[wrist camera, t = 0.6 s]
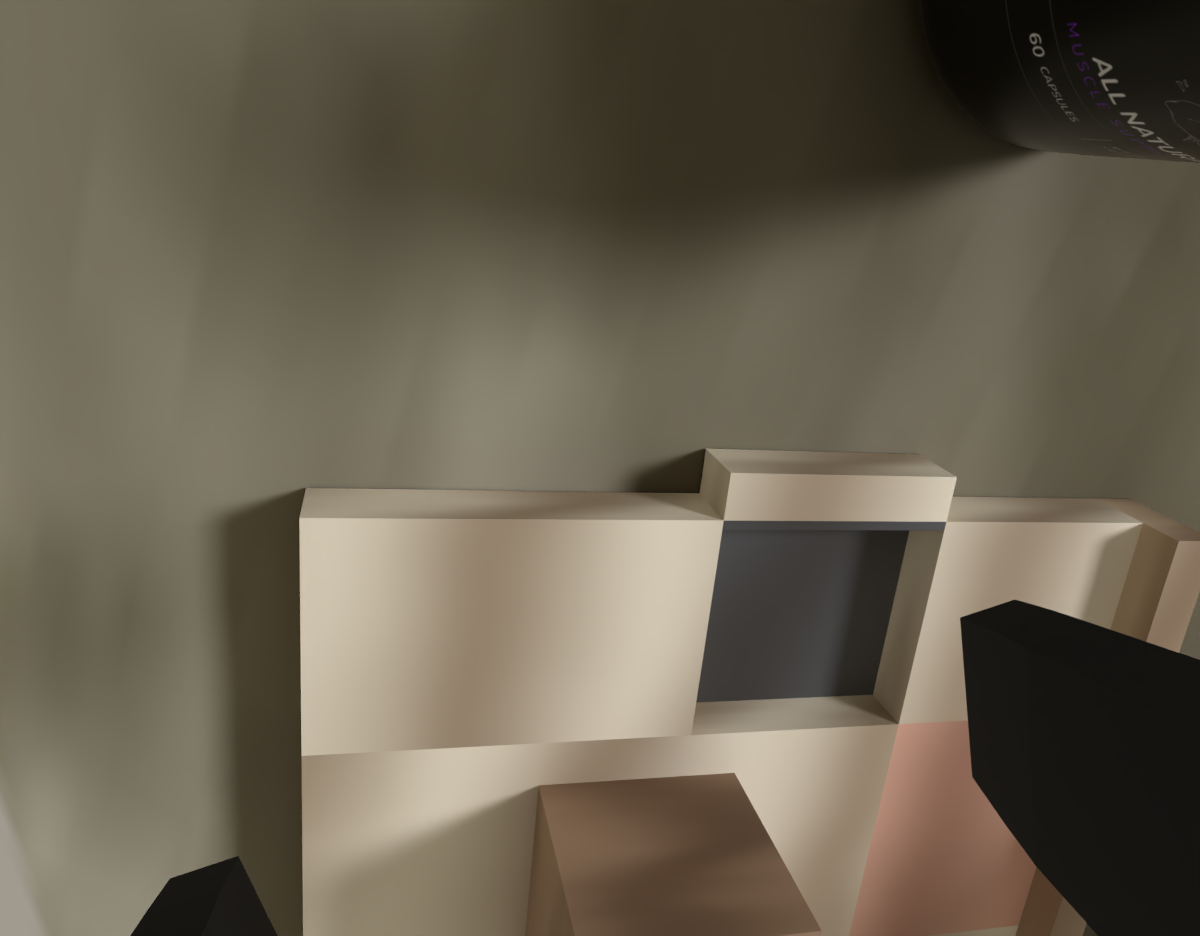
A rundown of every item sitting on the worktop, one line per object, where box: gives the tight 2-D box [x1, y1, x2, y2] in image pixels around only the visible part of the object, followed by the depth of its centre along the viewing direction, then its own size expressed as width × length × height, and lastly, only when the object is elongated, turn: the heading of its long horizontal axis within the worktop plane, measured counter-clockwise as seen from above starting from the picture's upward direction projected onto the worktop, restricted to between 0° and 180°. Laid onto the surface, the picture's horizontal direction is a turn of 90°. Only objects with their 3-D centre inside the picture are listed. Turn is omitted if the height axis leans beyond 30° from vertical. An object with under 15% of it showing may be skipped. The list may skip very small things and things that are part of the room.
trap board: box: [299, 449, 1200, 936], centre depth 21 cm, size 19×18×2 cm
